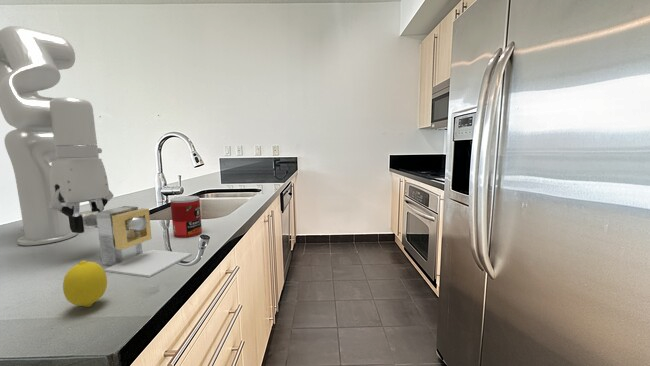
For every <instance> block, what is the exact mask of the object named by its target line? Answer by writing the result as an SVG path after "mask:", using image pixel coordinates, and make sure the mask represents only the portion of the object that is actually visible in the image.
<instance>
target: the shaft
mask: <svg viewBox="0 0 650 366" xmlns="http://www.w3.org/2000/svg"><path fill="white" fill-rule="evenodd" d="M97 212H98V211H92V210H85V211H81V212H80V211H79V216H82V218H83V226H84V231H85V230H88V229H91V228H98V226H97V218H96V213H97ZM146 224H147V222H146V220H145V219H144V218H138V217H136V218H132V219H129V220H125V225H126V229H131V230H143V229H144V228H145V227H146Z"/></svg>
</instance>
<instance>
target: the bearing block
mask: <svg viewBox="0 0 650 366" xmlns="http://www.w3.org/2000/svg"><path fill="white" fill-rule="evenodd" d="M138 209H139V207H138V206H132V205H131V206H128V205H124V206H123V205H122V206H120V207H115V208H111V209H106V210H105V209H104V210H103V211H101V212H97V213H96V218H97V226H98V227H97V230H98V231H97V232H98V240H99V248H100V257H101V264H102V265H104V266H109V267H111V266H114V265H116V264H118V263H121V262H123V261H125V260H128V259H130V258H133V257H135V256H137V255H140V254H142V253H144V252H143V244H142V243H143V242H142V243H139V244H137V245H134V246H131V247H129V248H126V249H124V250H121V249H116V246H115V238H114V229H113V221H112V216H114V215H118V214H122V213H126V212H130V211H134V210H138ZM126 234H127V239H130V238H133V237H136V236H139V235H140V230H131V229H126Z"/></svg>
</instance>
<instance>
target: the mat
mask: <svg viewBox="0 0 650 366" xmlns="http://www.w3.org/2000/svg"><path fill="white" fill-rule="evenodd" d="M191 256H192V253H190V252H180V251H173V250H172V251H169V250H160V249H150V250H146V251H145V252H143V253H142V254H140V255H137V256H135V257H133V258H130V259H128V260H125V261H123V262H121V263H118V264H116V265H114V266H109V267H107V268H105V269H104V268H103V269H104V271H105V273H107V272H108V273H115V274H122V275H128V276H129V275H130V276H136V277H143V278H144V277H145V278H151V277H153V276H155V275H157V274H159V273H161V272H162V271H164V270H167V269H168V268H170V267H172V266H174V265H176V264H177V263H179V262H182V261H183V260H184V259H185V260H186V259H187V258H189V257H191Z"/></svg>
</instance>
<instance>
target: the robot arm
mask: <svg viewBox="0 0 650 366" xmlns="http://www.w3.org/2000/svg"><path fill="white" fill-rule="evenodd" d="M75 63H76V53H75V50H74V48H73V46H72V44H71V43H70V42H69V41H68V40H67V39H65V38H64V37H63V36H60V35H56V34H51V33H49V32H48V33H47V32H44V31H40V30H35V29H31V28H28V27H24V26H23V27H22V26H16V25H13V26H11V25H9V26H6V27H3V28H2V29H0V111H1V114H2V116H3V118H4V121H5V122H6V123H7V124H8V125H9V126H10V127H11V126H12V127H14V128H15V129H13V130H11V131H9V132H7V133H6V134H5V137H4V141H3V142H4V146H5V150H6V153H7V155H8V158H9V159H10V162H11V166H12V169H13V173H14V178H15V183H16V189H17V195H18V201H19V202H18V203H19V207H20V213H21V215H20V216H21V220H22V226H21V227H20V231H23V232H24V235H23V236H21V237H19V238H17V245H20V246H26V247H27V246H39V245H47V244H52V243H56V242H61V241H65V240H68V239H72V238H73V237H75V236H77V235H78V234H83V233H84V232H85V230H84V226H83V218H82V216H79V213H80V206H81V203H85V202H88V204H89V207H90V211H98V212H101V211H105V207H106V205H107V204H108V203H109V201H110V200H112V199H113V198H114V194H113V193H112V191H111V190H110V189H109V188H110V187H109V181H108V176H107V172H106V169H105V168H106V167H105V165H104V162H103V159H102V158H100V156H99V155H100V154H102V152H103V149H102V148H100V147H98V142H97V141H98V140H97V132H96V124H95V116H94V108H93V105H92V103H91V102H90V101H88V100H86V99H81V98H75V97H50V96H49V97H48V96H47V97H46V96H42V95H40V94H39V92H40V91H44V90H48V89H51V88H54V87H55V86H56V85H58V84H59V83H60V80H61V72H60V71H62V70H68V69H70V68H72V67H73V66H74V65H75ZM50 164H51V165H50Z"/></svg>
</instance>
